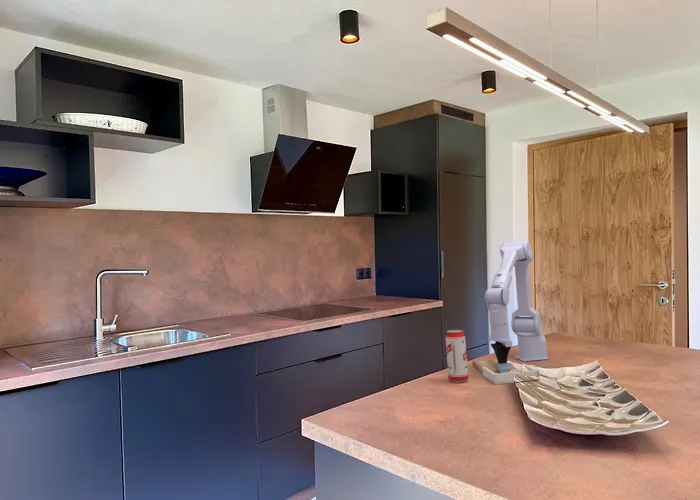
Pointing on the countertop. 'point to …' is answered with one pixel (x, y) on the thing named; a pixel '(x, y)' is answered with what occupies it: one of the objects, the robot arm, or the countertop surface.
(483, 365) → the board
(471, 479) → the countertop surface
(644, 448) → the countertop surface
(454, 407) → the countertop surface
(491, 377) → the tray
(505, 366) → the tile rear
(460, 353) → the beer can
